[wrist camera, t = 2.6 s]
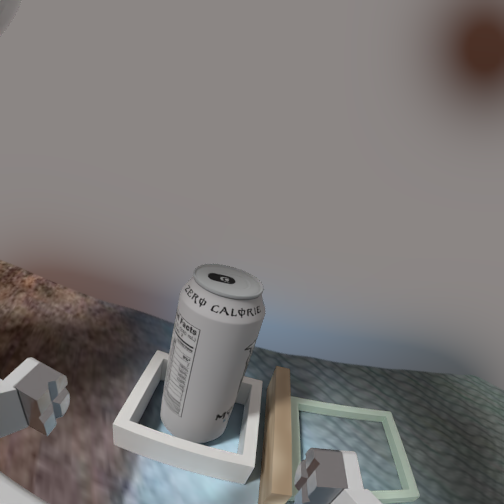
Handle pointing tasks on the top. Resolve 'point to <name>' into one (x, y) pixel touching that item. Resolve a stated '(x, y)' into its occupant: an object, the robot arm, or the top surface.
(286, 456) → the rail
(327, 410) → the socket
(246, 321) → the energy drink can
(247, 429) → the socket
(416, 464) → the top surface
